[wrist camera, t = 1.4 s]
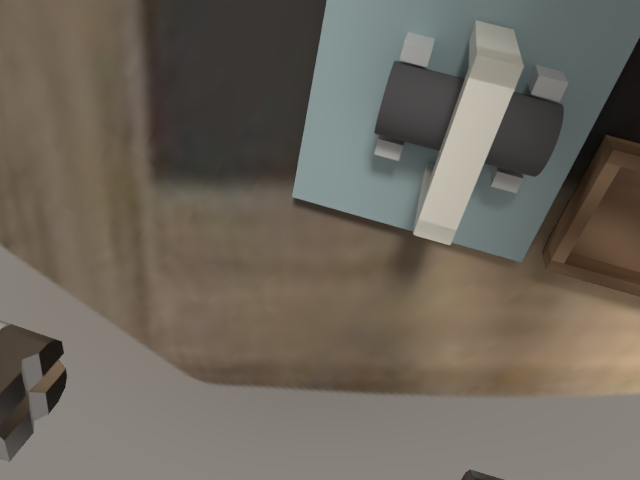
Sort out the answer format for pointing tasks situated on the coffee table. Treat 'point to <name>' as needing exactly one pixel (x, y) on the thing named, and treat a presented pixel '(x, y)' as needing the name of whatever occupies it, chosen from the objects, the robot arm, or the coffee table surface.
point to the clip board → (453, 59)
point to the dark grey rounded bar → (437, 108)
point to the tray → (602, 222)
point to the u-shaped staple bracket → (469, 131)
